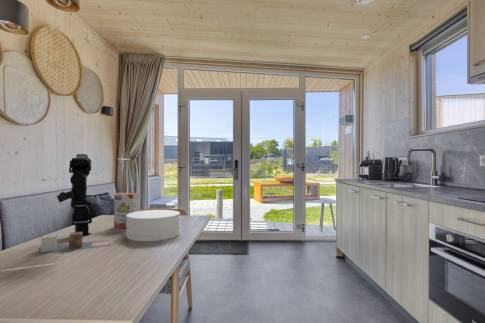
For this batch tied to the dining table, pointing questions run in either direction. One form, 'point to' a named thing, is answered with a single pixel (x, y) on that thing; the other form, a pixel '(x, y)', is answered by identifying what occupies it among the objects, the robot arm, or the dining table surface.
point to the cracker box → (124, 207)
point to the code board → (84, 246)
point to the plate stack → (152, 225)
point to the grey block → (49, 243)
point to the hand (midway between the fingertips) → (78, 219)
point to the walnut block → (75, 240)
